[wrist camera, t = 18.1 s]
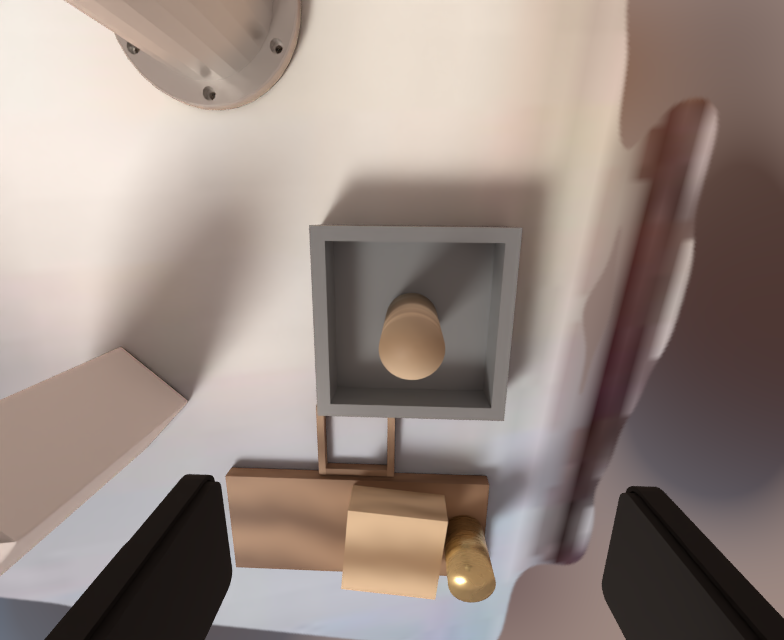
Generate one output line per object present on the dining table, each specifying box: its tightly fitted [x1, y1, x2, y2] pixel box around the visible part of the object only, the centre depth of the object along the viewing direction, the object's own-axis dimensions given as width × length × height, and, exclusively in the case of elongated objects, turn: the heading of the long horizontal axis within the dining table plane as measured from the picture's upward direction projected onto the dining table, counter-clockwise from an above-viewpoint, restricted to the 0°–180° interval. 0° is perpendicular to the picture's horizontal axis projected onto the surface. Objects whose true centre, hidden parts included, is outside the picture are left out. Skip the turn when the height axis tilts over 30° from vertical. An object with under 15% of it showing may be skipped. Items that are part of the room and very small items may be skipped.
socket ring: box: [316, 405, 395, 477], centre depth 33 cm, size 7×7×1 cm
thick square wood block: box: [341, 485, 448, 599], centre depth 32 cm, size 8×8×3 cm
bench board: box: [226, 468, 489, 576], centre depth 35 cm, size 10×23×1 cm, turn 89°
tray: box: [309, 225, 522, 421], centre depth 28 cm, size 14×14×4 cm
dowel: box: [379, 293, 445, 380], centre depth 26 cm, size 4×4×7 cm
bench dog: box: [444, 515, 496, 602], centre depth 31 cm, size 4×4×5 cm
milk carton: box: [0, 347, 188, 576], centre depth 24 cm, size 7×7×19 cm
